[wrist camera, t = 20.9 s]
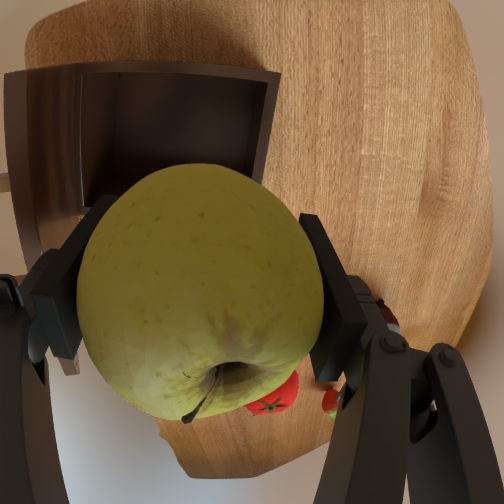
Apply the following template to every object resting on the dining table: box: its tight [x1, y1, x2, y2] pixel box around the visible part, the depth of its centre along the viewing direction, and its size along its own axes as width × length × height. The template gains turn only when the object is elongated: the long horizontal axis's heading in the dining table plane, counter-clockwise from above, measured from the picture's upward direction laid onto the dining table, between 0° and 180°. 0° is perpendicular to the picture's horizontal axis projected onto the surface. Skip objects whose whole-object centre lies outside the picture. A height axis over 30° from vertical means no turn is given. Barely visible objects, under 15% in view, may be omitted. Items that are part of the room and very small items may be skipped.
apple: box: [76, 163, 324, 424], centre depth 10 cm, size 8×8×10 cm
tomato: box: [243, 370, 299, 416], centre depth 55 cm, size 12×12×11 cm
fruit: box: [322, 389, 340, 420], centre depth 64 cm, size 5×5×8 cm
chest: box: [74, 61, 281, 215], centre depth 31 cm, size 18×15×11 cm
